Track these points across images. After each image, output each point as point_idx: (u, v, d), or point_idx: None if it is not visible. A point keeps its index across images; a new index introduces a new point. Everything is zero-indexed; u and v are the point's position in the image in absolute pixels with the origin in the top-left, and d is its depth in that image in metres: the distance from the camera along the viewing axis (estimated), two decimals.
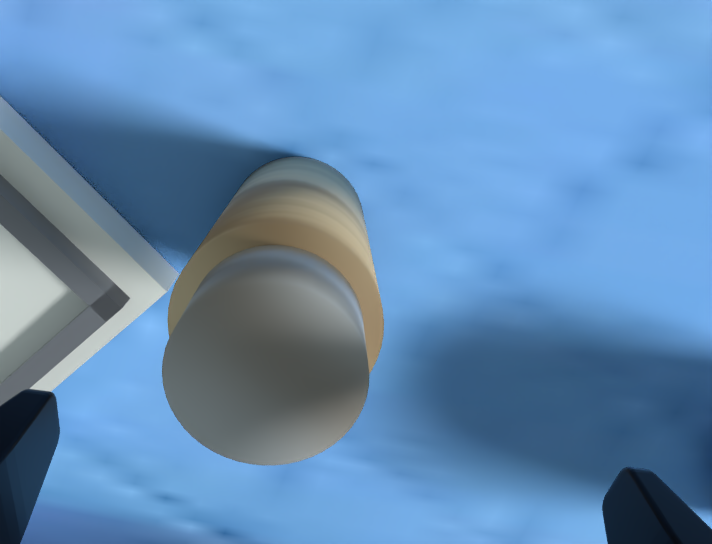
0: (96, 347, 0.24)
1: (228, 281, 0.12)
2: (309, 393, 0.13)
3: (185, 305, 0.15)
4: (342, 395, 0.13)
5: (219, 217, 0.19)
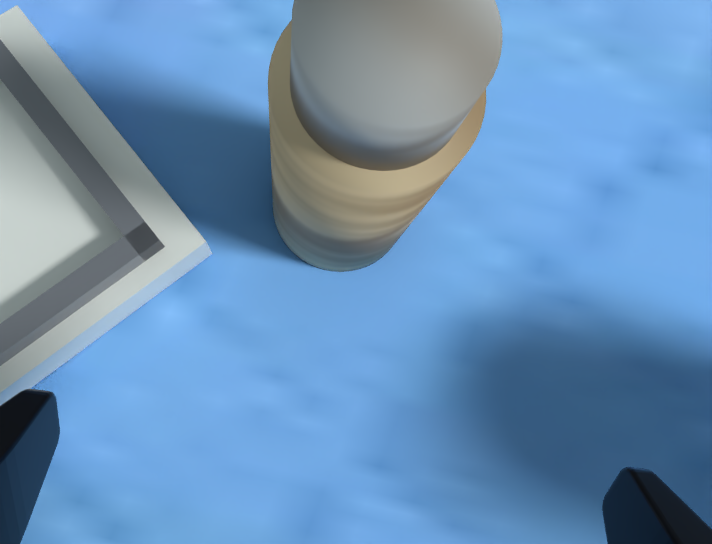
0: (114, 304, 0.21)
1: None
2: (442, 45, 0.12)
3: (288, 56, 0.15)
4: (476, 51, 0.12)
5: None
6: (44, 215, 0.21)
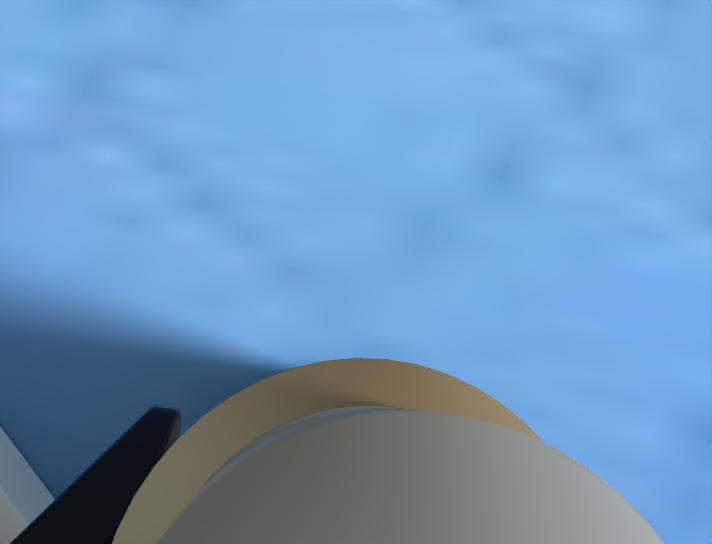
0: None
1: (308, 428, 0.04)
2: None
3: None
4: None
5: None
6: None
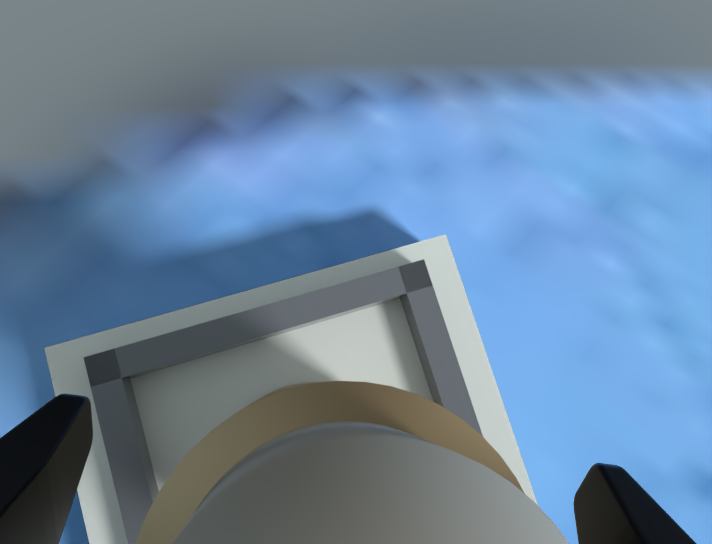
0: None
1: (294, 447, 0.06)
2: None
3: None
4: None
5: None
6: None
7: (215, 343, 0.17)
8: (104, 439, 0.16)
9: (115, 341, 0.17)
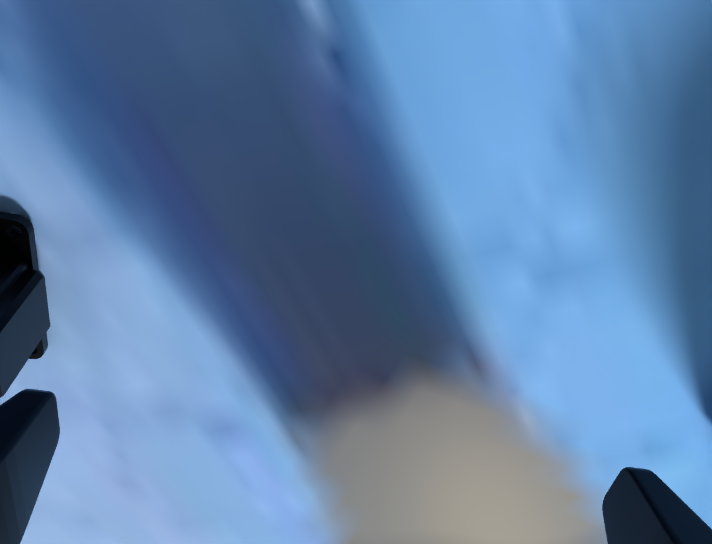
0: None
1: None
2: None
3: None
4: None
5: None
6: None
7: None
8: None
9: None
